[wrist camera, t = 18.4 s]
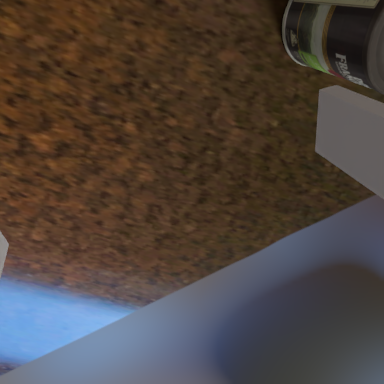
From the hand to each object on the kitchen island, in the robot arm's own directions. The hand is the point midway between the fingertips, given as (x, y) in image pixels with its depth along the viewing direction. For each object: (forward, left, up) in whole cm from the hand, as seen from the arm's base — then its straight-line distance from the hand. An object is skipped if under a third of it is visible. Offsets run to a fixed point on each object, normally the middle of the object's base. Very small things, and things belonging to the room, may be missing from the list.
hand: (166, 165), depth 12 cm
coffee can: (+25, -2, -27) cm, 37 cm away
